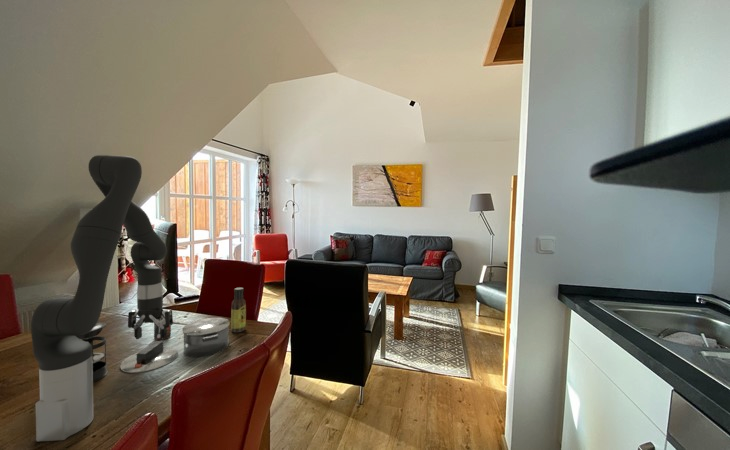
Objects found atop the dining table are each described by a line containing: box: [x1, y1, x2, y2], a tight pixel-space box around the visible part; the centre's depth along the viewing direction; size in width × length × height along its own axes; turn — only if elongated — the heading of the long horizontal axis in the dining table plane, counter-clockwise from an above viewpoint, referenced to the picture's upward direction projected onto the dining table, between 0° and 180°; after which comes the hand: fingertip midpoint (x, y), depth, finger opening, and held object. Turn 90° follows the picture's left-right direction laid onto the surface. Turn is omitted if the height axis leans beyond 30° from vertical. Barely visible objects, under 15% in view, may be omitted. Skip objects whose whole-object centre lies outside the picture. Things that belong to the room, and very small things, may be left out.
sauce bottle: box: [230, 287, 247, 333], centre depth 131 cm, size 6×6×20 cm
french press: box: [76, 321, 109, 383], centre depth 91 cm, size 12×9×23 cm
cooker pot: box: [181, 317, 231, 358], centre depth 114 cm, size 22×17×9 cm
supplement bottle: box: [153, 315, 172, 341], centre depth 122 cm, size 6×6×11 cm
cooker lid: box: [120, 340, 179, 374], centre depth 104 cm, size 17×17×5 cm
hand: (151, 337), depth 104 cm, fingers open, 8 cm apart
